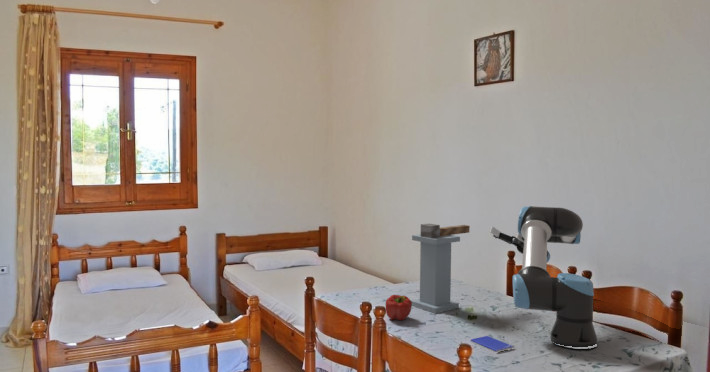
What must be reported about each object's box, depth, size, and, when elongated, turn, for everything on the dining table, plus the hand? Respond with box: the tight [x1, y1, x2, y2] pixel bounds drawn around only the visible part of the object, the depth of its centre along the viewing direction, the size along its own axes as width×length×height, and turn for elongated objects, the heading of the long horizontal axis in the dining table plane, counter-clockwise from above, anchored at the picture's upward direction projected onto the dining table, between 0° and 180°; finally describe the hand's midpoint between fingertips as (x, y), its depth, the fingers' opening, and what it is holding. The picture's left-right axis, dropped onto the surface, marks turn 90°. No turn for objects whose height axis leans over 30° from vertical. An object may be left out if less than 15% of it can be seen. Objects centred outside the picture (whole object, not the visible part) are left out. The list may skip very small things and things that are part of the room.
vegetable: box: [385, 294, 413, 321], centre depth 223 cm, size 11×10×10 cm
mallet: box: [420, 223, 471, 238], centre depth 243 cm, size 25×6×5 cm, turn 127°
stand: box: [411, 233, 461, 314], centre depth 240 cm, size 14×14×30 cm
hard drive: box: [470, 335, 515, 353], centre depth 195 cm, size 2×8×12 cm
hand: (503, 231), depth 247 cm, fingers open, 13 cm apart
